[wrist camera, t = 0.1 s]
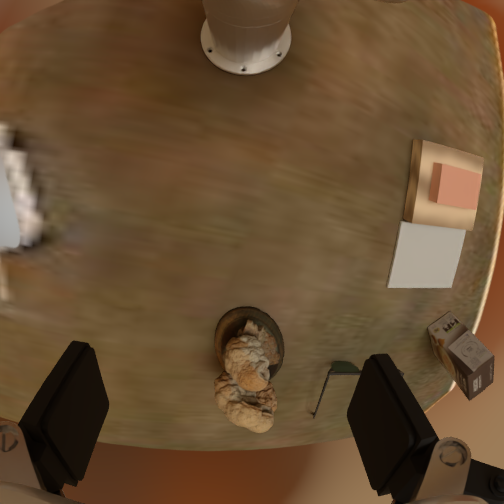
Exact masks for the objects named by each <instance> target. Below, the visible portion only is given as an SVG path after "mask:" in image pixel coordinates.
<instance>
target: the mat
mask: <svg viewBox="0 0 504 504" xmlns="http://www.w3.org/2000/svg"><path fill="white" fill-rule="evenodd" d="M465 232H466V230H463V229H455V228H447V227H439V226H430V225H422V224H413V223H410V222H407V221H400V224H399V229H398V235H397V240H396V245H395V250H394V255H393V259H392V264H391V268H390V273H389V277H388V281H387V285H386V286H387V287H388V288H451V286H452V283H453V280H454V276H455V273H456V269H457V265H458V261H459V258H460V254H461V250H462V245H463V241H464V237H465Z"/></svg>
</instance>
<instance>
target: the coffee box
mask: <svg viewBox="0 0 504 504" xmlns="http://www.w3.org/2000/svg"><path fill="white" fill-rule="evenodd" d="M428 332H429V336H430V340H431V344H432V348H433V353H434V355H435V356H436V357H437V359H438V360H439V361H440V362H441V364H442V365H443V366H444V368H445V369H446V370H447V372H448V373H449V374H450V375H451V377H452V378H453V379H454V381H455V382H456V383H457V385H458V386H459V387H460V389H461V390H462V391H463V393H464V394H465V396H466V397H467V398H468V400H471V399H472V398H474V397H476V396H477V395H478V394H479V393H481V392H482V391H483V390H485V388H486V387H488V386H489V385H490V384H491V383H493V375H494V355H493V354H492V353H491V352H490V351H489V350H488V349H487V348H486V347H485V346H484V345H483V344H482V343H481V342H480V341H479V339H477V338H476V337H475V335H474V334H473V333H472V332H471V331H470V330H469V329H468V328H467V327H466V326H465V325H464V324H462V322H461V321H460V320H458V319H457V318H456V317H455V316H454V315H453V314H452V313H451V312H448V313H447V314H446V315H444V316H443V317H441V318H440V319H439V320H437V321H436V322H434V323H433V324H431V325H430V326H429V327H428Z"/></svg>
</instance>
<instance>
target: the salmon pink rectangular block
mask: <svg viewBox="0 0 504 504" xmlns="http://www.w3.org/2000/svg"><path fill="white" fill-rule="evenodd" d="M481 175H482V174H479V173H475V172H472V171H468V170H464V169H461V168H457V167H453V166H449V165H445V164H441V163H435V162H434V165H433V173H432V181H431V188H430V195H429V200H430V201H433V202H435V203H439V204H445V205H451V206H456V207H462V208H467V209H473V210H476V208H477V202H478V196H479V190H480V183H481Z"/></svg>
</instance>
